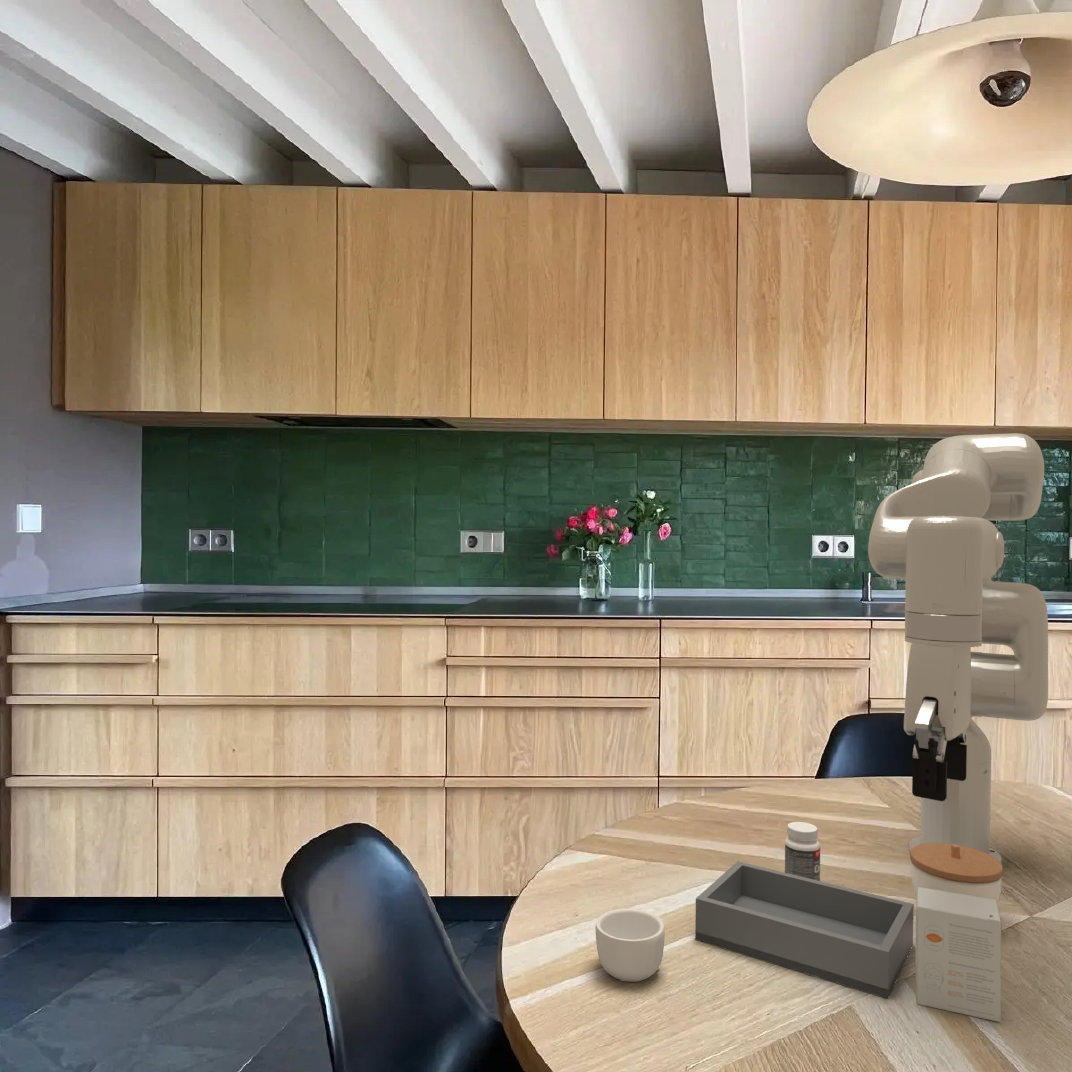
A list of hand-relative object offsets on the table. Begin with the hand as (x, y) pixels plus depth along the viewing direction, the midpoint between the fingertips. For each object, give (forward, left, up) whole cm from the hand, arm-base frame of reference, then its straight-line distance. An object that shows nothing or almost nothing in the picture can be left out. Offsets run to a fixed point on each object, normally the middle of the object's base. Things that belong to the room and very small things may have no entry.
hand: (940, 787), depth 90 cm
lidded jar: (-20, -1, -22) cm, 30 cm away
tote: (-2, -15, -22) cm, 27 cm away
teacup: (+15, -29, -22) cm, 39 cm away
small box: (+1, +2, -22) cm, 22 cm away
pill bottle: (-18, -20, -22) cm, 35 cm away
